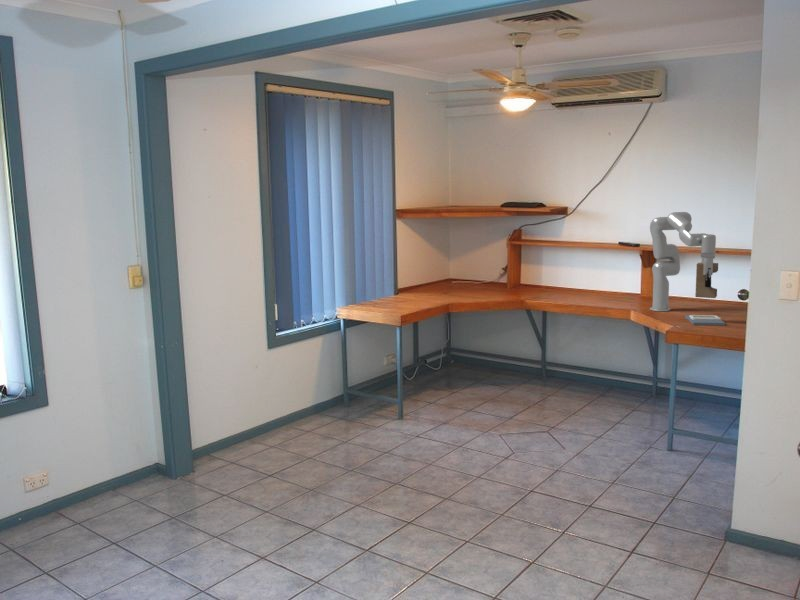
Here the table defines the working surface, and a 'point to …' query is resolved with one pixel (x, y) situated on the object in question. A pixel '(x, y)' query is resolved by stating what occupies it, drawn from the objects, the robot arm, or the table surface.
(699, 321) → the board
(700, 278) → the decorative block
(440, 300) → the table surface
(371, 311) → the table surface
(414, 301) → the table surface
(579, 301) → the table surface
